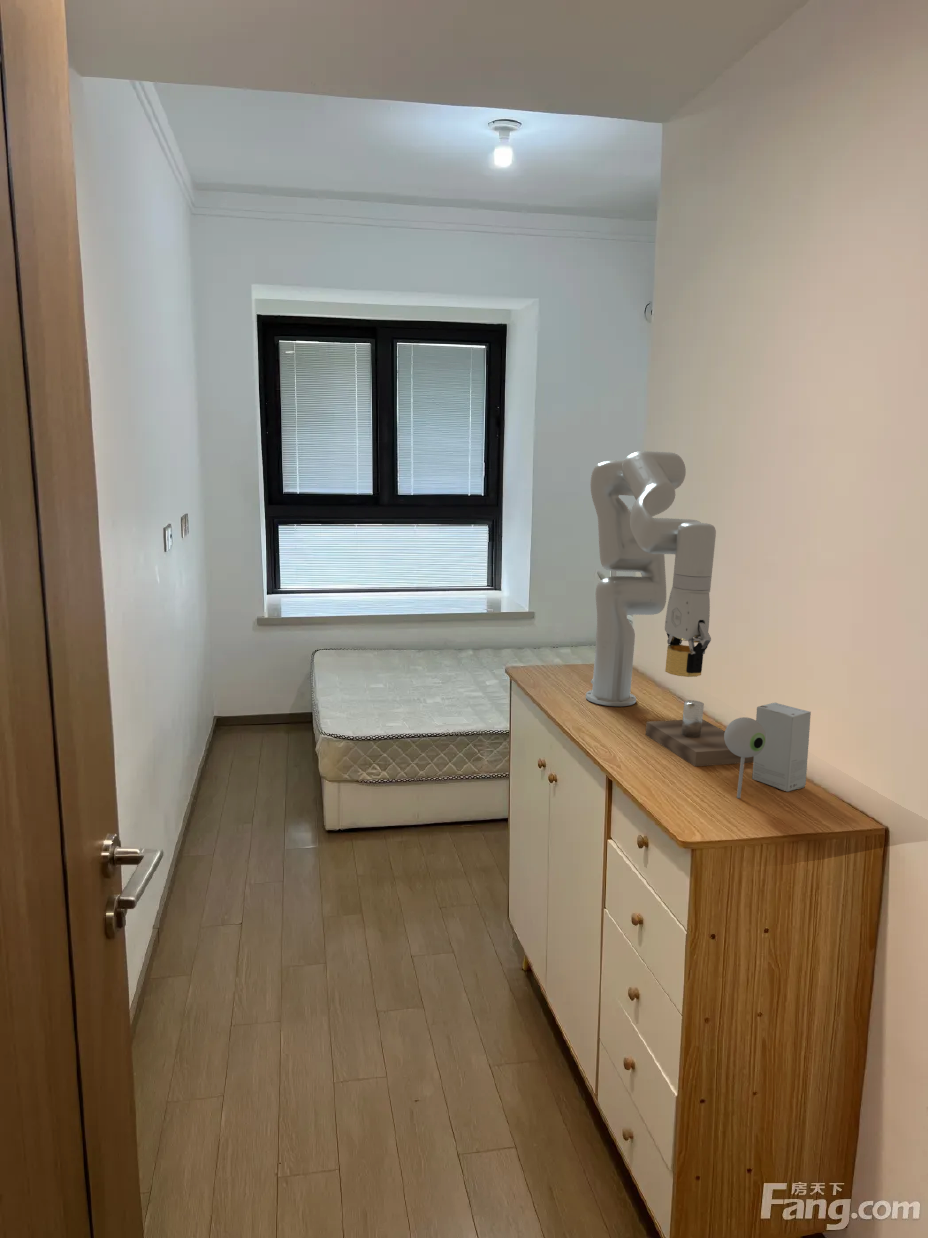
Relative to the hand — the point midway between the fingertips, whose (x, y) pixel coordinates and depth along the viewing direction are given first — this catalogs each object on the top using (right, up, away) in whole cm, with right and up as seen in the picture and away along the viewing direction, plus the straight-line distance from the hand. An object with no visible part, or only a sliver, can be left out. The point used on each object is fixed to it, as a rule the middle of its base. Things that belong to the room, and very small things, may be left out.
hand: (683, 667), depth 174 cm
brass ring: (0, -1, 0) cm, 1 cm away
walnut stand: (+4, -17, +4) cm, 18 cm away
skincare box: (+14, -22, -14) cm, 29 cm away
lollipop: (+4, -23, -22) cm, 32 cm away
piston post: (+2, -14, +3) cm, 15 cm away
